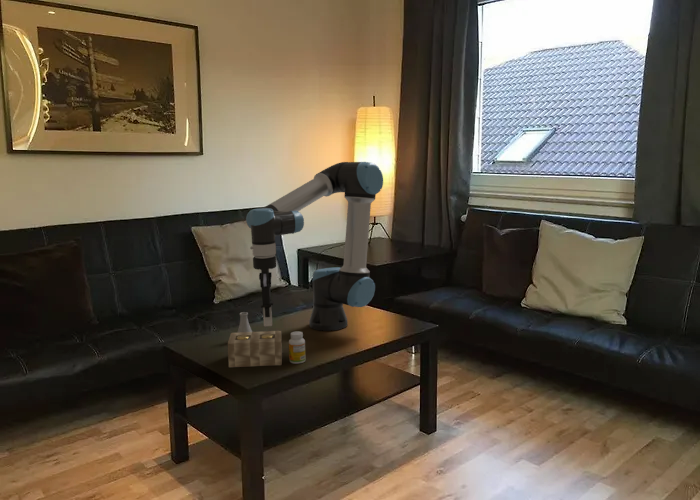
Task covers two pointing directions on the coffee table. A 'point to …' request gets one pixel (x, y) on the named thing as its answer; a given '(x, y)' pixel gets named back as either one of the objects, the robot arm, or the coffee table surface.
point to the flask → (244, 323)
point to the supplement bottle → (297, 348)
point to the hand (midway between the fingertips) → (268, 325)
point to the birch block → (255, 349)
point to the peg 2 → (267, 336)
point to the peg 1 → (243, 337)
